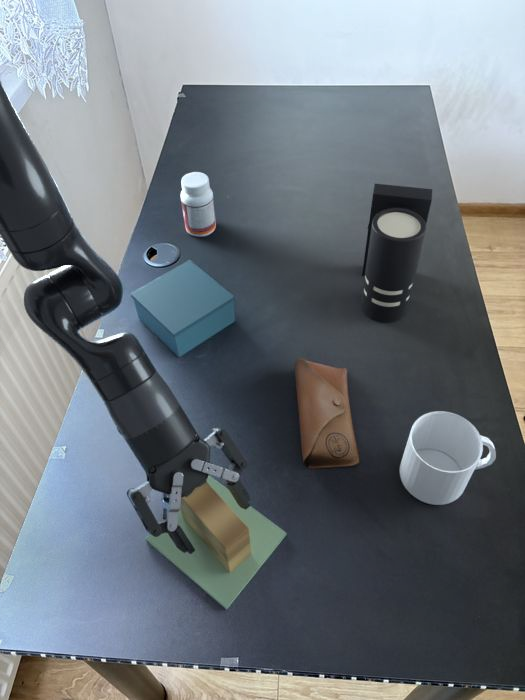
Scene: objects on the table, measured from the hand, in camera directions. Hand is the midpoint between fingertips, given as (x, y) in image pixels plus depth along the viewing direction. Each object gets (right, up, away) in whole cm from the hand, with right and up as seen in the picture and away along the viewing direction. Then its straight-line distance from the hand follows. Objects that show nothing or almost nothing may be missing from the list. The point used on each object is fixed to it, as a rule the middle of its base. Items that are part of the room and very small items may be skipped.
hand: (218, 528), depth 73 cm
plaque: (-1, -2, +4) cm, 5 cm away
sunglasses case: (+15, +12, +17) cm, 25 cm away
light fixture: (+27, +32, +33) cm, 53 cm away
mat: (-1, -3, +5) cm, 6 cm away
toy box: (-8, +27, +30) cm, 41 cm away
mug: (+30, +4, +10) cm, 32 cm away
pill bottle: (-7, +46, +46) cm, 66 cm away
